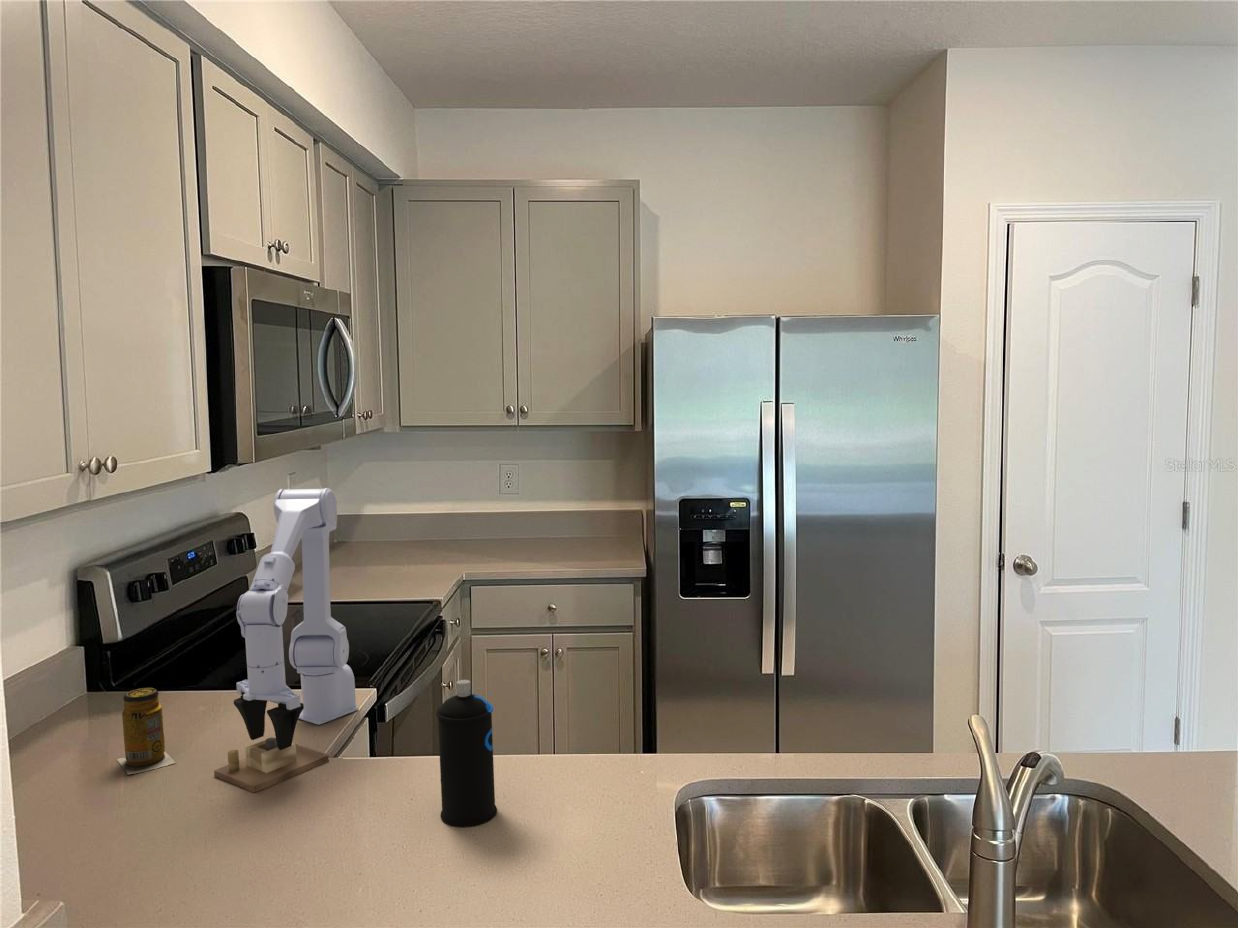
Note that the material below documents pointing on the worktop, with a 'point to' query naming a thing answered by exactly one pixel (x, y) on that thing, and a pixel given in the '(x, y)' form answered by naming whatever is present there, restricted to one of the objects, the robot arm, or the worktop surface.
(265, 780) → the post board
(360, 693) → the worktop surface
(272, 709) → the robot arm
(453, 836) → the worktop surface
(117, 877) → the worktop surface
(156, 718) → the condiment
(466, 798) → the aerosol can
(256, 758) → the ring
